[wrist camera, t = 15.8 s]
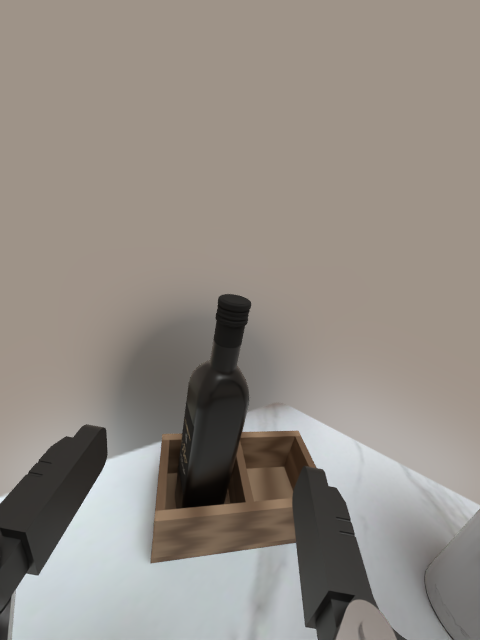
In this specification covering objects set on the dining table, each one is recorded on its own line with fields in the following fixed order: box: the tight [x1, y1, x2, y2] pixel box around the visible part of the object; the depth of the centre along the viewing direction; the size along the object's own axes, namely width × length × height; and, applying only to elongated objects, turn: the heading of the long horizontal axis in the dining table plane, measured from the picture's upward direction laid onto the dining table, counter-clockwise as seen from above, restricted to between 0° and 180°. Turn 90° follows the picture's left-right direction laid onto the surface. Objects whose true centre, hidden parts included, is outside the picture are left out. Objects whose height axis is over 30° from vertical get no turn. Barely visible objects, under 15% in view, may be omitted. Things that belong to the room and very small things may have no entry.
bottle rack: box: [151, 431, 316, 563], centre depth 35 cm, size 21×11×8 cm, turn 101°
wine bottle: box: [175, 294, 251, 509], centre depth 29 cm, size 6×6×30 cm
